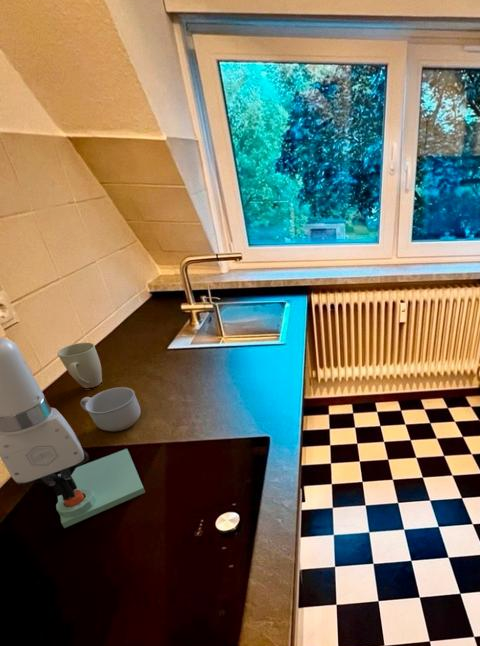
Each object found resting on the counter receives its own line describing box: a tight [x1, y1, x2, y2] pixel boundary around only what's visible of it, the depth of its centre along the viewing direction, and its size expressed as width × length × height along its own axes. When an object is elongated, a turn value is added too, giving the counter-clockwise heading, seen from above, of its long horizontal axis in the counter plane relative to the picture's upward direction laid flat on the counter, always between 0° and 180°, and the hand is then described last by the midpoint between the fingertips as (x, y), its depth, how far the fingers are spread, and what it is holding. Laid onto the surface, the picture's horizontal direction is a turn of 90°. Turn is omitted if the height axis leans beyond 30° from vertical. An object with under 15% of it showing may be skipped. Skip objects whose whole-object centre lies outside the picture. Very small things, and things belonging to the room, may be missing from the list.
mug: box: [56, 342, 103, 389], centre depth 112 cm, size 11×10×12 cm
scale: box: [55, 448, 146, 529], centre depth 79 cm, size 14×16×3 cm
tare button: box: [63, 490, 84, 507], centre depth 73 cm, size 3×3×2 cm
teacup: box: [79, 386, 142, 432], centre depth 97 cm, size 14×11×8 cm
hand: (69, 493), depth 72 cm, fingers closed
